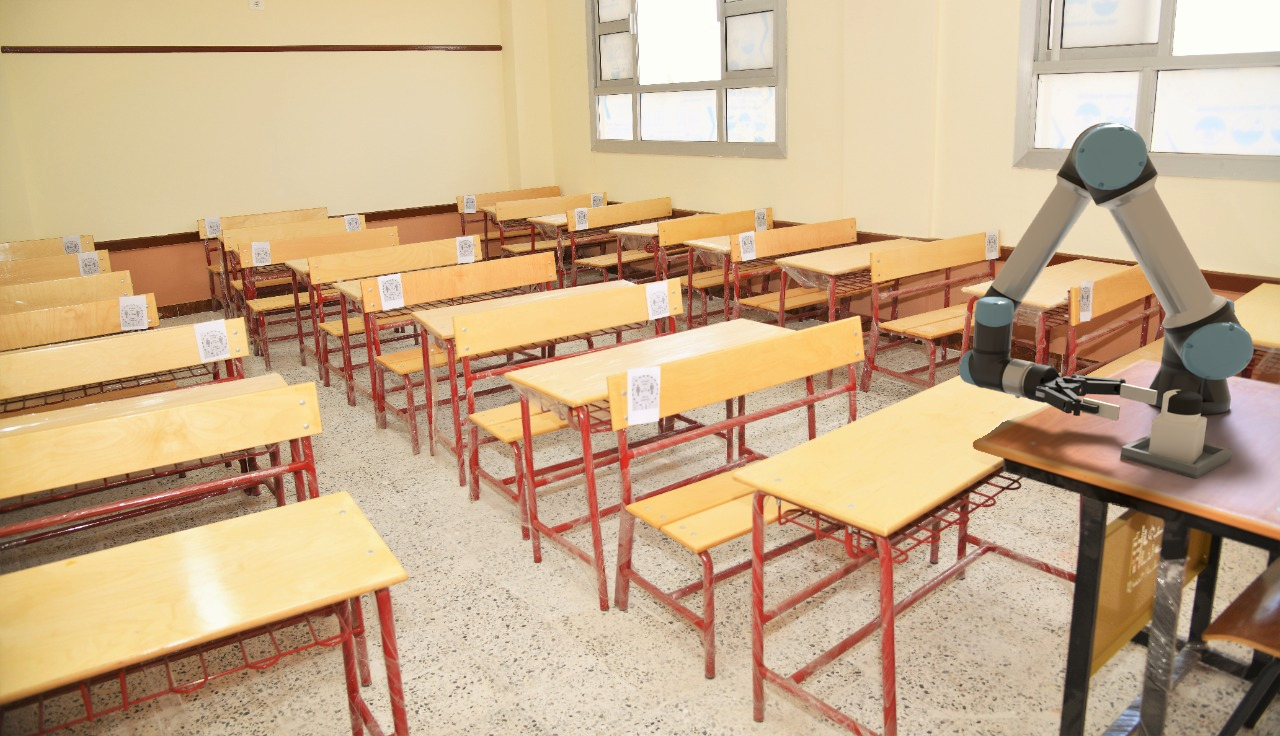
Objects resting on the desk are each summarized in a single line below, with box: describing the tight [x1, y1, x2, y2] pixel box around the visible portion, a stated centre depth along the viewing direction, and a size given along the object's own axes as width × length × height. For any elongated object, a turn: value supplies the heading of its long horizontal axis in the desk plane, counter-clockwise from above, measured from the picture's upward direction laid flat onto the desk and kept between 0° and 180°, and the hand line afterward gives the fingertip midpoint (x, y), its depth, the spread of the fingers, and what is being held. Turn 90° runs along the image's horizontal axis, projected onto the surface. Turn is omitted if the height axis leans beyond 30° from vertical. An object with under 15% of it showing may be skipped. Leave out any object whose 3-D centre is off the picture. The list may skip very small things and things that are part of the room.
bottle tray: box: [1119, 433, 1233, 479], centre depth 161 cm, size 13×13×2 cm
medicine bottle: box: [1149, 390, 1208, 464], centre depth 160 cm, size 7×7×12 cm
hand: (1137, 405), depth 165 cm, fingers open, 13 cm apart
